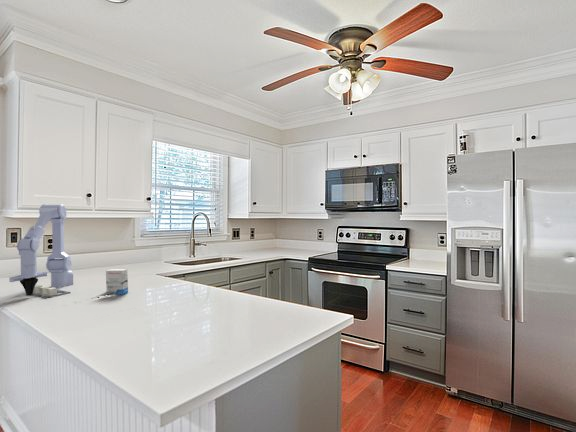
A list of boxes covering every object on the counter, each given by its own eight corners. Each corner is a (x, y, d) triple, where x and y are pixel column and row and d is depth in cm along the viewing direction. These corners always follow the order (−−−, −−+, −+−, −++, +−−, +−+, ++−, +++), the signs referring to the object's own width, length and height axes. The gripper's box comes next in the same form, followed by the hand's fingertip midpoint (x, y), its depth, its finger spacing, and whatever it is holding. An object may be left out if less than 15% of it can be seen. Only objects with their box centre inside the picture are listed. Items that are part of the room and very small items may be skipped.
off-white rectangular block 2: (53, 294, 161) (53, 287, 161) (57, 295, 160) (56, 287, 159) (46, 296, 158) (46, 288, 158) (50, 297, 157) (49, 289, 157)
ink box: (128, 292, 170) (128, 268, 170) (122, 295, 165) (122, 270, 165) (112, 292, 171) (111, 268, 171) (105, 294, 166) (105, 270, 166)
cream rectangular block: (46, 293, 164) (46, 286, 164) (49, 294, 162) (49, 286, 162) (39, 294, 161) (39, 287, 161) (42, 295, 160) (42, 288, 160)
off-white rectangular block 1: (39, 292, 167) (39, 284, 166) (42, 292, 165) (42, 285, 165) (32, 293, 164) (32, 286, 164) (35, 294, 162) (35, 286, 162)
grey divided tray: (50, 292, 172) (50, 288, 172) (70, 296, 164) (70, 291, 164) (27, 296, 163) (27, 292, 163) (47, 301, 155) (47, 296, 155)
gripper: (40, 262, 164) (40, 290, 164) (4, 266, 151) (5, 297, 151) (49, 262, 161) (50, 291, 162) (14, 267, 148) (15, 299, 148)
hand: (29, 294), depth 156 cm, fingers closed
